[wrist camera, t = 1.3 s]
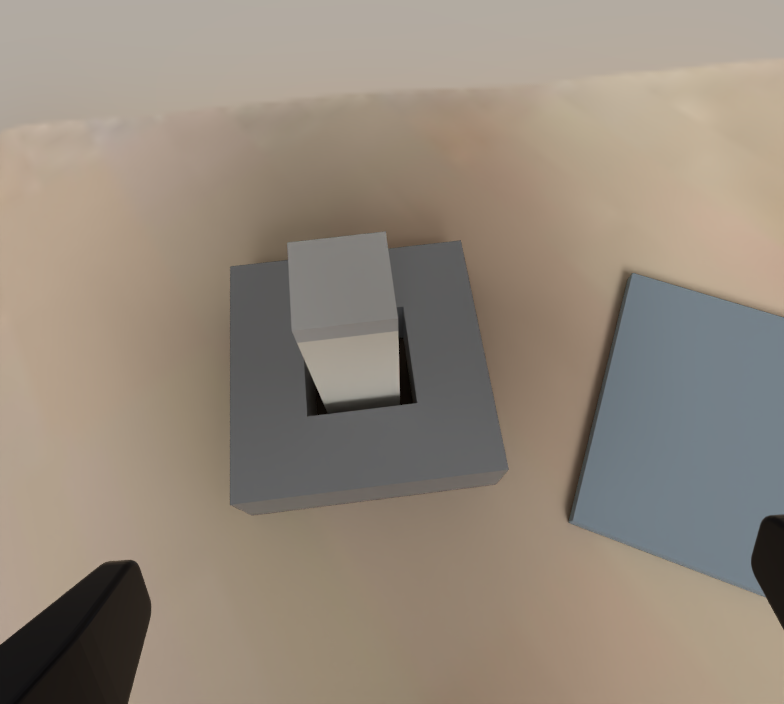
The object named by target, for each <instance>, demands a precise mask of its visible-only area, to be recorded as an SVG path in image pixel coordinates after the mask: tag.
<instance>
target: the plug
mask: <svg viewBox="0 0 784 704" xmlns="http://www.w3.org/2000/svg"><path fill="white" fill-rule="evenodd" d="M287 247H288V267H289V287H290V307H291V327H292V333H293V335H294V337H295V340H296V342H297V344H298V346H299V349H300V351H301V353H302V356H303V358H304V360H305V362H306V365H307V367H308V369H309V372H310V374H311V376H312V378H313V381H314V383H315V385H316V387H317V390H318V392H319V394H320V397H321V399H322V401H323V403H324V406H325V408H326V410H327V413H328V414H332V413H340V412H348V411H357V410H365V409H373V408H381V407H389V406H398V405H400V381H399V339H398V315H397V308H396V301H395V294H394V287H393V280H392V272H391V265H390V258H389V251H388V244H387V237H386V231H385V232H376V233H367V234H358V235H350V236H341V237H332V238H323V239H314V240H305V241H297V242H288V243H287Z"/></svg>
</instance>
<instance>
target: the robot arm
mask: <svg viewBox="0 0 784 704" xmlns="http://www.w3.org/2000/svg"><path fill="white" fill-rule="evenodd" d="M751 566H752V571H753V573H754V576H755V578H756V580H757V582H758V584H759V585H760V587H761V589H762V591H763V593H764V595H765V596H766V598H767V600H768V602H769V604H770V605H771V607H772V609H773V611H774V613H775V615H776V616H777V618H778V620H779V622H780V624H781V626H782V627H783V629H784V514H779V515H769V516H766V517H765V518H764V519H763V520H762V521H761V523H760V527H759V530H758V534H757V537H756V541H755V545H754V548H753V552H752V555H751ZM150 616H151V601H150V597H149V594H148V591H147V588H146V585H145V582H144V579H143V576H142V573H141V570H140V567H139V565H138V564H137V563H136V562H135V561H133V560H121V561H109V562H105V563H103V564H102V565H100V566H99V567H98V568H96V569H95V570H94V571H92V572H91V573H90V574H89V575H87V576H86V577H85V578H84V579H82V580H81V581H80V582H79V583H77V584H76V585H75V586H74V587H72V588H71V589H70V590H69V591H67V592H66V593H65V594H64V595H62V596H61V597H60V598H59V599H57V600H56V601H55V602H54V603H52V604H51V605H50V606H48V607H47V608H46V609H45V610H43V611H42V612H41V613H40V614H38V615H37V616H36V617H35V618H33V619H32V620H31V621H30V622H28V623H27V624H26V625H25V626H23V627H22V628H21V629H20V630H18V631H17V632H16V633H15V634H13V635H12V636H11V637H9V638H8V639H7V640H6V641H4V642H3V643H2V644H1V645H0V704H128V701H129V697H130V693H131V690H132V686H133V682H134V678H135V674H136V671H137V667H138V663H139V659H140V655H141V652H142V648H143V644H144V640H145V636H146V632H147V629H148V625H149V621H150Z"/></svg>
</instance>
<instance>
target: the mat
mask: <svg viewBox="0 0 784 704" xmlns="http://www.w3.org/2000/svg"><path fill="white" fill-rule="evenodd" d="M779 514H784V318H783V317H780V316H777V315H773V314H770V313H767V312H763V311H760V310H756V309H753V308H750V307H746V306H743V305H740V304H736V303H733V302H729V301H726V300H723V299H719V298H716V297H713V296H709V295H706V294H702V293H699V292H696V291H692V290H689V289H685V288H682V287H679V286H675V285H672V284H669V283H665V282H662V281H658V280H655V279H652V278H648V277H645V276H642V275H638V274H635V273H632V274H631V276H630V277H629V279H628V281H627V285H626V289H625V293H624V297H623V301H622V305H621V309H620V313H619V317H618V322H617V326H616V330H615V334H614V338H613V342H612V346H611V350H610V354H609V358H608V363H607V367H606V371H605V375H604V379H603V383H602V387H601V391H600V395H599V399H598V404H597V408H596V412H595V416H594V420H593V424H592V428H591V432H590V436H589V440H588V444H587V449H586V453H585V457H584V461H583V465H582V469H581V473H580V477H579V481H578V485H577V490H576V494H575V498H574V502H573V506H572V510H571V514H570V518H569V522H568V523H571V524H573V525H576V526H579V527H581V528H584V529H587V530H589V531H592V532H595V533H597V534H600V535H602V536H605V537H608V538H610V539H613V540H616V541H618V542H621V543H624V544H626V545H629V546H632V547H634V548H637V549H639V550H642V551H645V552H647V553H650V554H653V555H655V556H658V557H661V558H663V559H666V560H669V561H671V562H674V563H676V564H679V565H682V566H684V567H687V568H690V569H692V570H695V571H698V572H700V573H703V574H706V575H708V576H711V577H713V578H716V579H719V580H721V581H724V582H727V583H729V584H732V585H735V586H737V587H740V588H743V589H745V590H748V591H750V592H753V593H756V594H758V595H761V596H764V597H766V596H765V595H764V593H763V591H762V589H761V587H760V585H759V584H758V582H757V580H756V578H755V576H754V573H753V571H752V566H751V555H752V552H753V548H754V545H755V541H756V537H757V534H758V530H759V527H760V523H761V521H762V520H763V519H764V518H765V517H766V516H769V515H779Z"/></svg>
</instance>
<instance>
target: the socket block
mask: <svg viewBox="0 0 784 704" xmlns="http://www.w3.org/2000/svg"><path fill="white" fill-rule="evenodd" d="M388 251H389V258H390V265H391V272H392V280H393V287H394V294H395V301H396V308H397V315H398V338H403V339H404V346H405V353H406V360H407V367H408V374H409V381H410V388H411V395H412V402H413V404H406V405H398V406H389V407H381V408H373V409H365V410H357V411H348V412H340V413H332V414H324V415H317V404H316V389H315V383H314V381H313V378H312V376H311V374H310V372H309V369H308V367H307V365H306V362H305V360H304V358H303V356H302V353H301V351H300V349H299V346H298V344H297V342H296V340H295V337H294V335H293V333H292V327H291V307H290V287H289V267H288V260H284V261H275V262H266V263H257V264H248V265H240V266H231V267H230V505H231V506H233V507H235V508H238V509H240V510H242V511H244V512H246V513H248V514H250V515H259V514H267V513H275V512H283V511H290V510H298V509H306V508H314V507H322V506H330V505H338V504H345V503H353V502H361V501H369V500H377V499H385V498H392V497H400V496H408V495H416V494H424V493H432V492H440V491H447V490H455V489H463V488H471V487H479V486H487V485H495V484H496V483H497V482H498V481H499V480H500V479H501V478H502V477H503V475H504V474H505V473H506V472H507V471H508V470H509V469H508V464H507V459H506V454H505V449H504V445H503V440H502V435H501V430H500V426H499V421H498V416H497V411H496V406H495V402H494V397H493V392H492V387H491V382H490V378H489V373H488V368H487V363H486V359H485V354H484V349H483V344H482V339H481V335H480V330H479V325H478V320H477V315H476V311H475V306H474V301H473V296H472V292H471V287H470V282H469V277H468V272H467V268H466V263H465V258H464V253H463V248H462V244H461V240H460V241H452V242H443V243H434V244H425V245H416V246H407V247H399V248H390V249H388Z"/></svg>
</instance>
